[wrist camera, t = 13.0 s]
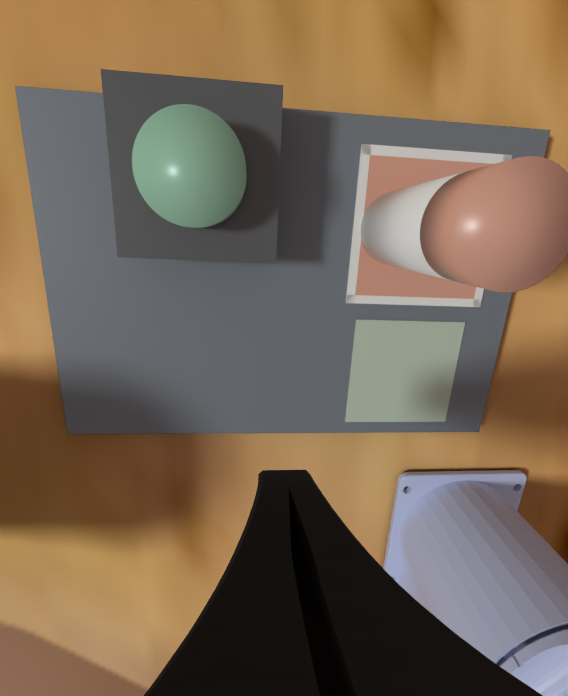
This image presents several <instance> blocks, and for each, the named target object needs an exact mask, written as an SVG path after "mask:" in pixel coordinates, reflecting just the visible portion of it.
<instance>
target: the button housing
mask: <svg viewBox="0 0 568 696" xmlns="http://www.w3.org/2000/svg"><path fill="white" fill-rule="evenodd" d="M101 77H102V88H103V99H104V111H105V122H106V133H107V144H108V156H109V167H110V178H111V189H112V201H113V212H114V223H115V234H116V246H117V257H122V258H146V259H171V260H196V261H220V262H245V263H270V264H276V254H277V229H278V203H279V178H280V153H281V127H282V102H283V85H273V84H262V83H251V82H239V81H228V80H217V79H206V78H194V77H183V76H172V75H161V74H150V73H138V72H127V71H116V70H105V69H101ZM177 104H191V105H197V106H200V107H203V108H206V109H208V110H210V111H212V112H213V113H215V114H217V115H218V116H219V117H220V118H222V119H223V120H224V121H225V122H226V123H227V124H228V125H229V126H230V127H231V129H232V130H233V131H234V133H235V134H236V136H237V138H238V140H239V142H240V144H241V146H242V149H243V152H244V156H245V162H246V175H247V180H246V188H245V193H244V196H243V199H242V201H241V203H240V205H239V206H238V208H237V209H236V211H235V212H234V213H233V214H232V215H231V216H230V217H229V218H227V219H226V220H224V221H223V222H221V223H219V224H217V225H214V226H211V227H205V228H191V227H183V226H179V225H176V224H174V223H171V222H169V221H167V220H165V219H164V218H162V217H161V216H159V215H158V214H157V213H156V212H155V211H154V210H152V209H151V207H150V206H149V205H148V204H147V203H146V201H145V200H144V198H143V197H142V195H141V193H140V191H139V190H138V187H137V185H136V182H135V179H134V175H133V169H132V152H133V146H134V142H135V139H136V137H137V134H138V132H139V130H140V129H141V127H142V126H143V124H144V123H145V122H146V120H147V119H149V118H150V117H151V116H152V115H153V114H154V113H156V112H157V111H159V110H161V109H163V108H165V107H168V106H171V105H177Z"/></svg>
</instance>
